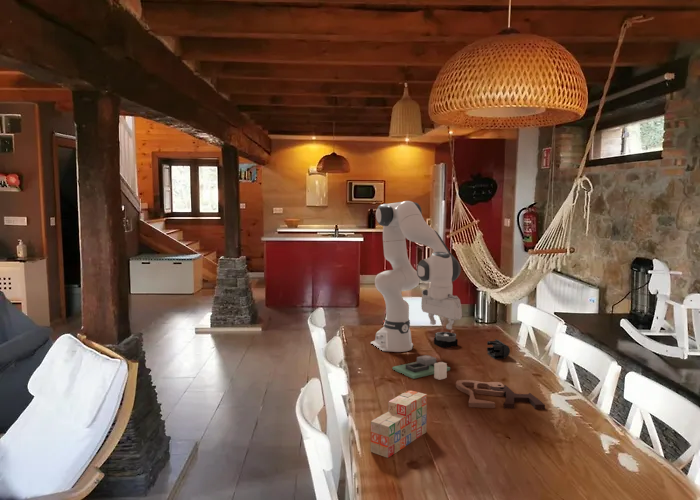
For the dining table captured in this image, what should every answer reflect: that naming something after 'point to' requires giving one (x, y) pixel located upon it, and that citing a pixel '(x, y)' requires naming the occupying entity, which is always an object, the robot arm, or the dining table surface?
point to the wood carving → (495, 394)
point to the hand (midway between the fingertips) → (440, 326)
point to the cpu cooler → (445, 339)
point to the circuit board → (418, 367)
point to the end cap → (498, 349)
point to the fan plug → (440, 370)
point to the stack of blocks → (399, 423)
